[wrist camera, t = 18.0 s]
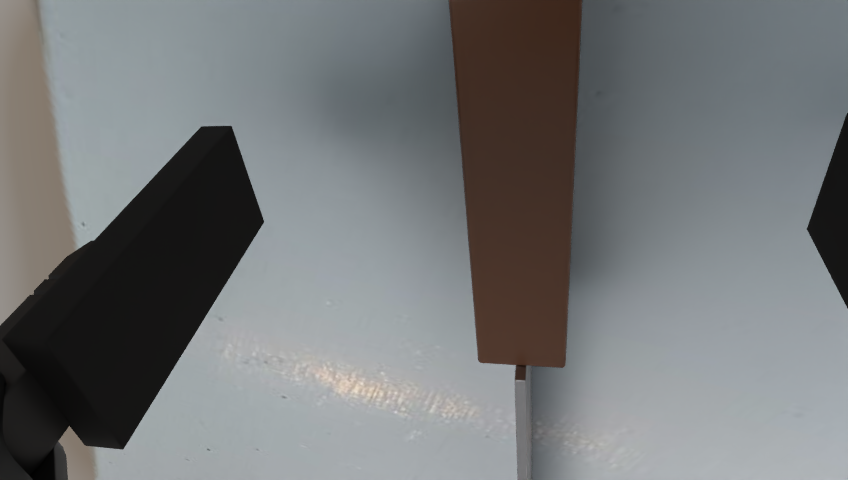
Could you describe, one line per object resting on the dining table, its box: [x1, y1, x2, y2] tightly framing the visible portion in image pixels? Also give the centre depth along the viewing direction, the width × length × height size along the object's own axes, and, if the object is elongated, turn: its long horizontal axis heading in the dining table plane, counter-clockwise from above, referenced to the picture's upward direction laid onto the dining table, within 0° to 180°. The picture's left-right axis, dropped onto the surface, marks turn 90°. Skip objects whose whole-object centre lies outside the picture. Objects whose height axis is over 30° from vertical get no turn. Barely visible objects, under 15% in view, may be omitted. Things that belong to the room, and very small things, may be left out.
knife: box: [449, 0, 582, 480], centre depth 19 cm, size 24×2×4 cm, turn 6°
